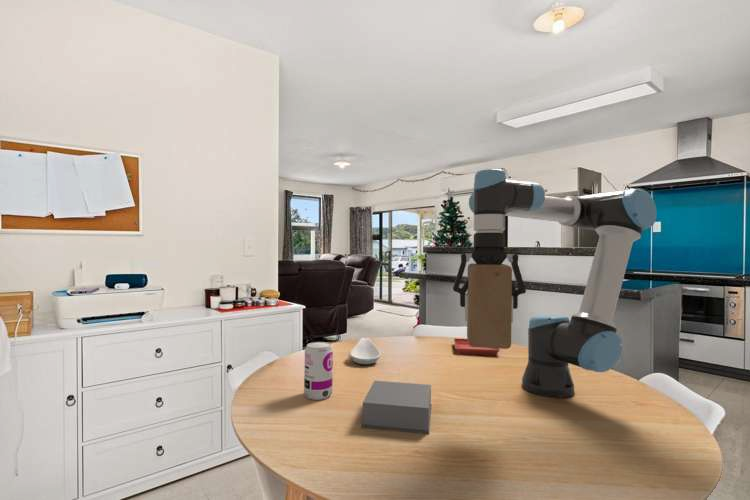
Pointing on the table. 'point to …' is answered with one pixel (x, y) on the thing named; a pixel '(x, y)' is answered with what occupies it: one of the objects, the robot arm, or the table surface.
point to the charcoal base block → (398, 407)
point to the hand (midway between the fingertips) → (488, 320)
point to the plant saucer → (473, 348)
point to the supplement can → (318, 370)
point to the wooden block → (489, 305)
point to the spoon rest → (365, 352)
